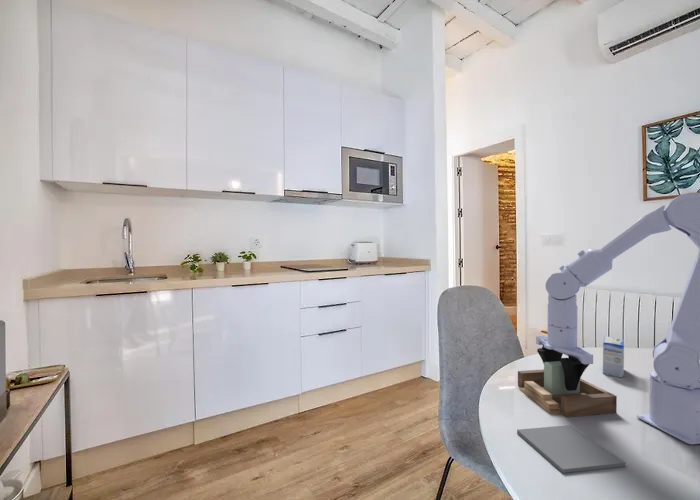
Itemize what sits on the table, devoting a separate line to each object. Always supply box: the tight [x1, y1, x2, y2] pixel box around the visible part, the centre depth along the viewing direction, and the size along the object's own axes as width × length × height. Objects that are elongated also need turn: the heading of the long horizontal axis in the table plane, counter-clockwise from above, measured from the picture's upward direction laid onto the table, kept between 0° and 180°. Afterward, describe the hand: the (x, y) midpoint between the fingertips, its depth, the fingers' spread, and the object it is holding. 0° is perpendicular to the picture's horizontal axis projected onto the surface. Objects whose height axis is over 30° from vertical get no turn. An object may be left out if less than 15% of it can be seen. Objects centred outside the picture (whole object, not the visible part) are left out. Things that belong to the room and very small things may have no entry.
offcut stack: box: [520, 381, 561, 415], centre depth 74 cm, size 11×2×3 cm, turn 3°
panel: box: [543, 361, 580, 395], centre depth 76 cm, size 2×7×8 cm, turn 98°
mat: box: [516, 424, 627, 474], centre depth 57 cm, size 11×11×1 cm
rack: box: [517, 368, 618, 418], centre depth 76 cm, size 16×12×4 cm
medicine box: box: [602, 336, 625, 378], centre depth 91 cm, size 8×4×9 cm, turn 141°
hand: (561, 384), depth 76 cm, fingers open, 5 cm apart
